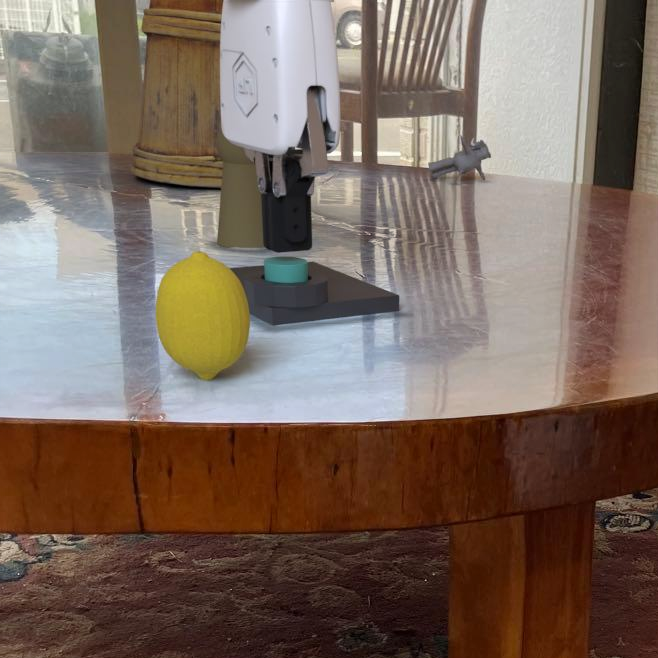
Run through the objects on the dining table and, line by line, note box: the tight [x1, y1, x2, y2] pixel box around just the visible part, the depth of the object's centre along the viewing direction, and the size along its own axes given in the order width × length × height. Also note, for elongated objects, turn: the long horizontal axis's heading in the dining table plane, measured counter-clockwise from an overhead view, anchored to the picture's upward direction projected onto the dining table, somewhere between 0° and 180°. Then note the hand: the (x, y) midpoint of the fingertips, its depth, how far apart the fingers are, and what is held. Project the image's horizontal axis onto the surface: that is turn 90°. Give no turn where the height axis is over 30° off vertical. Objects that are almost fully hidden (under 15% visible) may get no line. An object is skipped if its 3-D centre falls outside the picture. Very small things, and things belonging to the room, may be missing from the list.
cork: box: [216, 129, 265, 249], centre depth 108 cm, size 6×6×11 cm
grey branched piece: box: [427, 134, 492, 183], centre depth 161 cm, size 10×6×9 cm
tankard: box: [130, 0, 223, 189], centre depth 142 cm, size 18×24×25 cm
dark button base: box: [228, 261, 400, 327], centre depth 89 cm, size 12×14×3 cm
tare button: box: [263, 256, 309, 283], centre depth 84 cm, size 3×3×2 cm
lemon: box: [155, 250, 251, 381], centre depth 68 cm, size 6×6×8 cm
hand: (288, 248), depth 83 cm, fingers closed
